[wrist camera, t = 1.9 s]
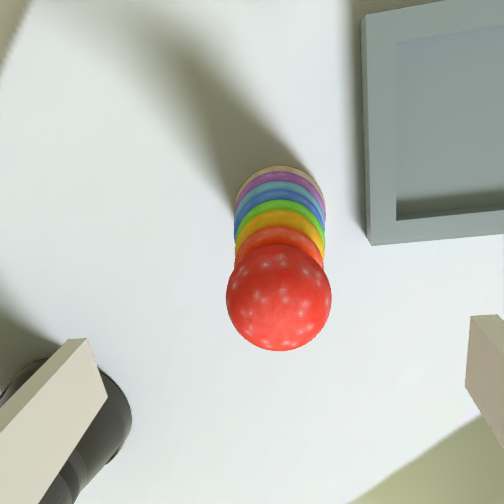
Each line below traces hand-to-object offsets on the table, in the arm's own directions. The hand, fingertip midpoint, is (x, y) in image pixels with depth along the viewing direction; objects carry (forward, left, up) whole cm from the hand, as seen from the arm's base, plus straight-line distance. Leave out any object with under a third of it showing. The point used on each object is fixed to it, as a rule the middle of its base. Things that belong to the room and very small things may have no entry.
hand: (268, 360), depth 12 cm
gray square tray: (+16, +5, -21) cm, 27 cm away
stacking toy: (0, 0, -22) cm, 22 cm away
